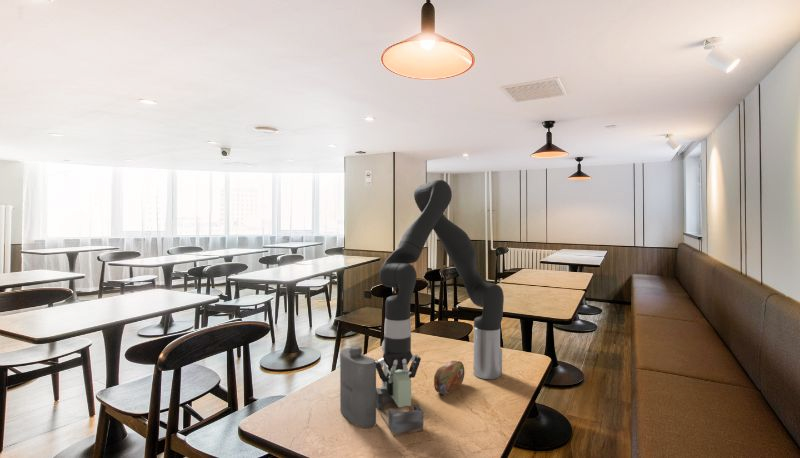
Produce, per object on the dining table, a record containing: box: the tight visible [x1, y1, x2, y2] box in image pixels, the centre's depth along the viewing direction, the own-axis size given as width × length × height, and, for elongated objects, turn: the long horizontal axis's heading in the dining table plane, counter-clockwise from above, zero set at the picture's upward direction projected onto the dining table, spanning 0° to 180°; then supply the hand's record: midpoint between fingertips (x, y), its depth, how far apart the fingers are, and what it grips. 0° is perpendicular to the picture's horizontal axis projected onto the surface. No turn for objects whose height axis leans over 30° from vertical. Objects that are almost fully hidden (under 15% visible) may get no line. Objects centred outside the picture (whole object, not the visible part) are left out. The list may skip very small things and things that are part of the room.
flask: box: [339, 345, 377, 429], centre depth 109 cm, size 15×6×20 cm, turn 37°
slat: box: [385, 365, 412, 407], centre depth 109 cm, size 4×12×7 cm, turn 20°
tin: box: [433, 360, 465, 396], centre depth 127 cm, size 15×3×8 cm, turn 139°
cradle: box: [376, 386, 424, 437], centre depth 109 cm, size 8×17×5 cm, turn 20°
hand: (397, 393), depth 109 cm, fingers closed on slat, 3 cm apart
